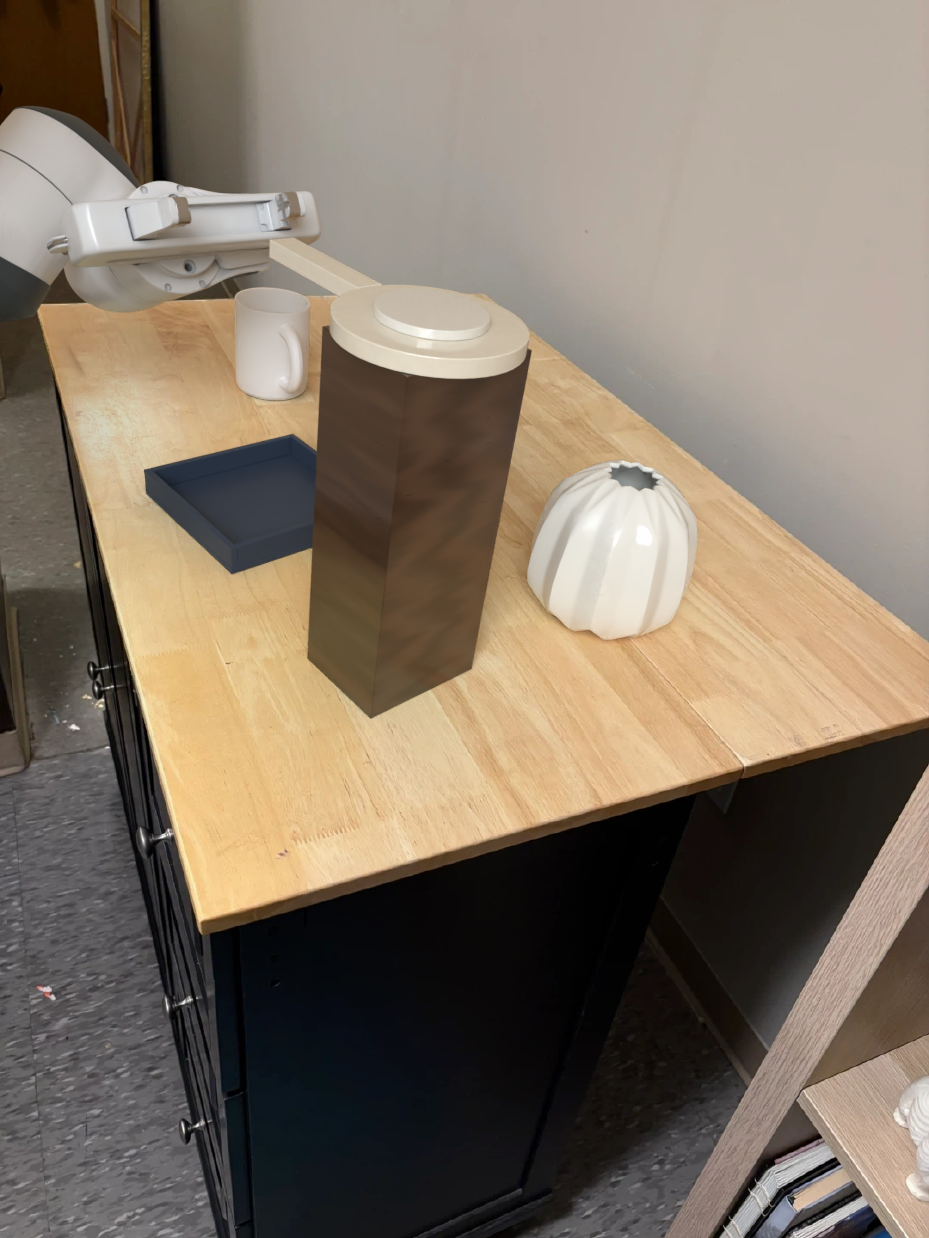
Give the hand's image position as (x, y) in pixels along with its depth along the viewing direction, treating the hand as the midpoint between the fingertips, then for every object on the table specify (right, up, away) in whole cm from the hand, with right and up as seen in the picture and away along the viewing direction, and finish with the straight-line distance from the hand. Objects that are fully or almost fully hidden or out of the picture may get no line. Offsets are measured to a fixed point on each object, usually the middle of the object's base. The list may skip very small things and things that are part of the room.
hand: (240, 206), depth 66 cm
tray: (-3, -20, +20) cm, 28 cm away
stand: (+10, -33, +5) cm, 35 cm away
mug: (-6, -4, +40) cm, 41 cm away
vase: (+28, -29, +15) cm, 43 cm away
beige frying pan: (+11, -10, -8) cm, 17 cm away
